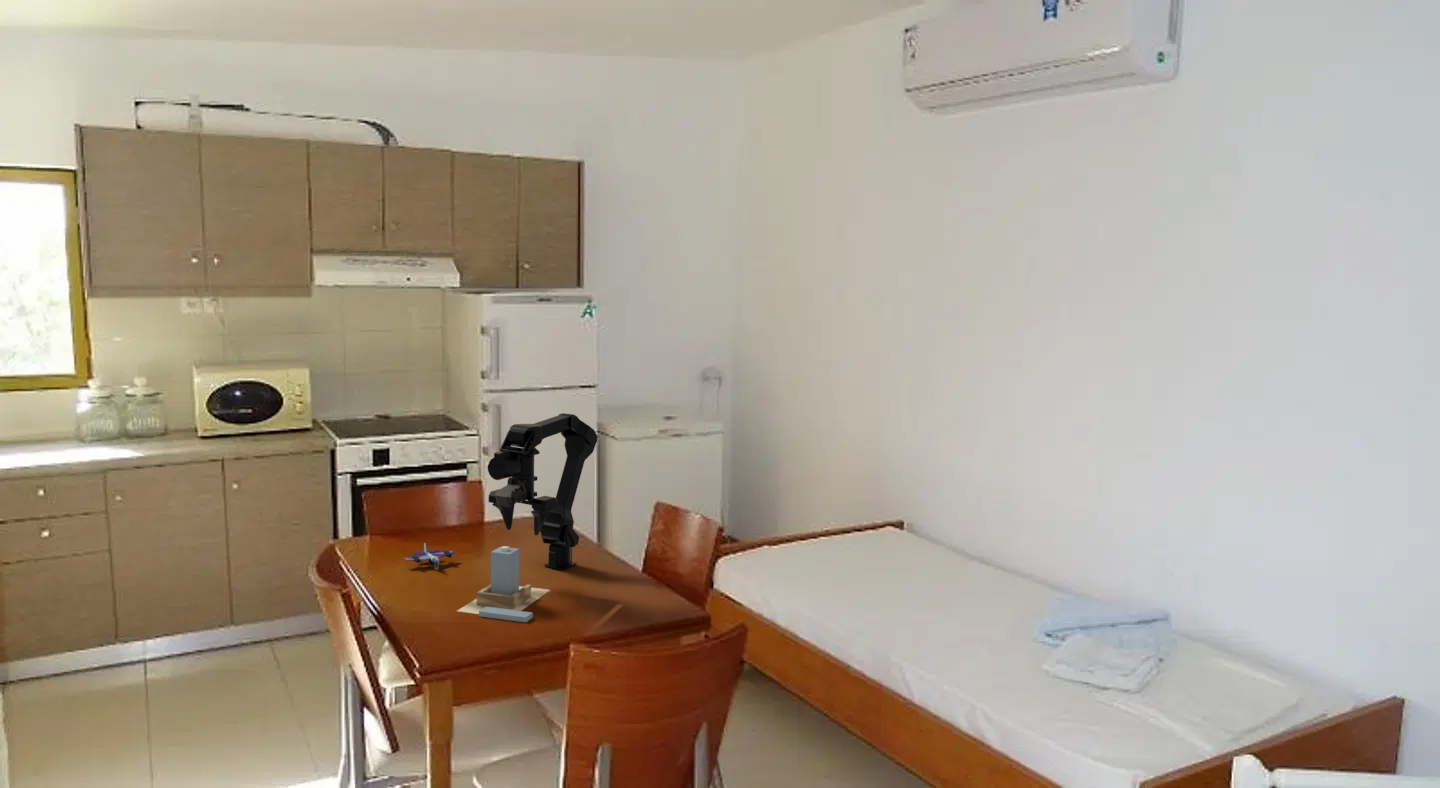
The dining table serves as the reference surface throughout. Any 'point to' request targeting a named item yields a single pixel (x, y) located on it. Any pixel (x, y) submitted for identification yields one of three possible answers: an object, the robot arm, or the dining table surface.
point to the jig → (504, 599)
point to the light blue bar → (505, 614)
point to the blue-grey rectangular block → (505, 570)
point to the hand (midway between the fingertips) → (522, 532)
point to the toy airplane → (430, 556)
